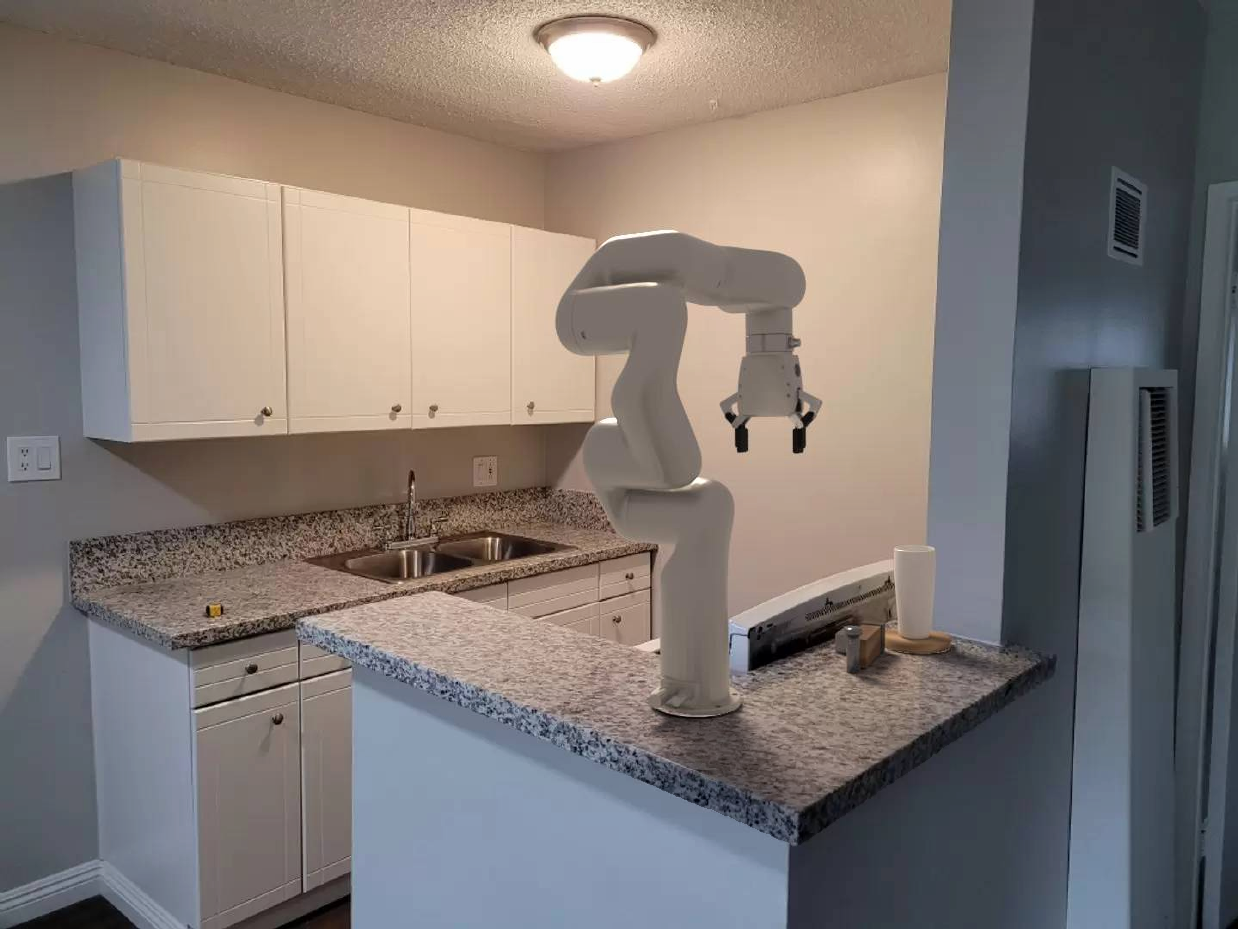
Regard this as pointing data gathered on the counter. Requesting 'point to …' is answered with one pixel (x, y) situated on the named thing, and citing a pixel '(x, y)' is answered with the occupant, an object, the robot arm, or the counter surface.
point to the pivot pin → (853, 648)
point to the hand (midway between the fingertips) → (769, 452)
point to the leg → (871, 641)
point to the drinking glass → (914, 589)
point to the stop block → (840, 641)
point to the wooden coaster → (917, 642)
